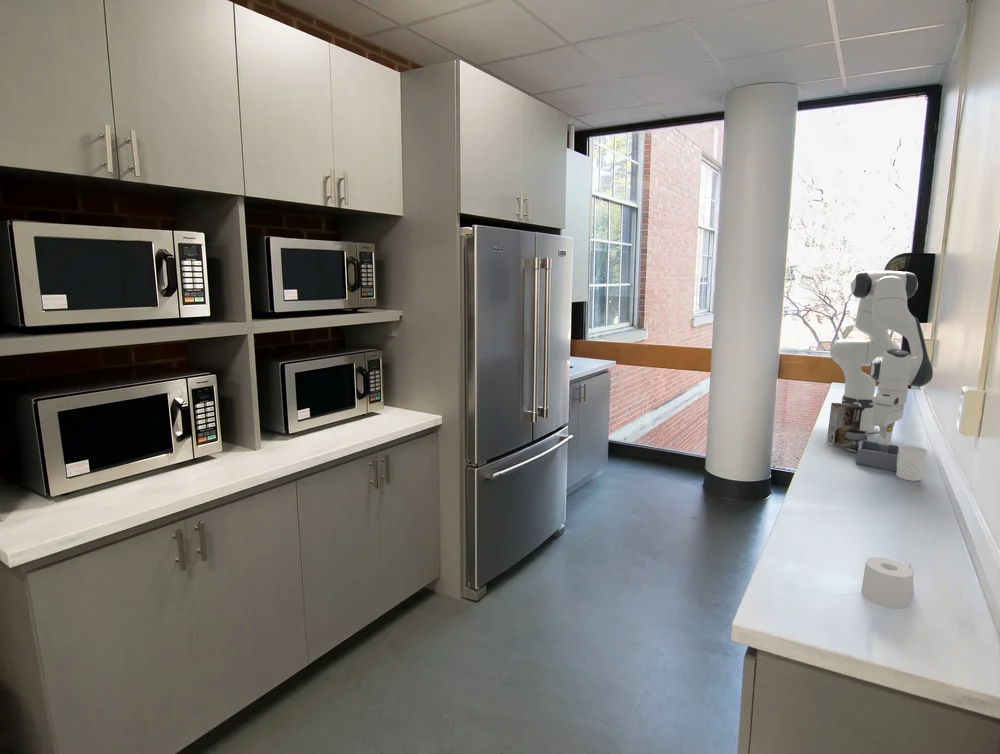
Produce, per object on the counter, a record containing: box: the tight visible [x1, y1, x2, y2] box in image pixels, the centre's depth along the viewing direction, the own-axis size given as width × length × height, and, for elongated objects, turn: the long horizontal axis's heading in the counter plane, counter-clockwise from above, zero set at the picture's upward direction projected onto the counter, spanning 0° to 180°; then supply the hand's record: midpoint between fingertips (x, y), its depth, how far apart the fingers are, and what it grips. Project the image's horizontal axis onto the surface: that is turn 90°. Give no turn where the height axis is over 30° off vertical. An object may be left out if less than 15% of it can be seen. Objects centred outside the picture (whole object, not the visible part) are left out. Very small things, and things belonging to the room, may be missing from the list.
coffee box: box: [826, 402, 862, 447], centre depth 229 cm, size 9×6×16 cm
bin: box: [855, 440, 899, 472], centre depth 207 cm, size 15×15×6 cm
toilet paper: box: [860, 556, 915, 610], centre depth 121 cm, size 8×11×7 cm
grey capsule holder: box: [845, 428, 869, 454], centre depth 221 cm, size 7×7×8 cm
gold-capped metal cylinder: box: [877, 426, 894, 454], centre depth 207 cm, size 4×4×12 cm
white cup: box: [895, 444, 928, 482], centre depth 193 cm, size 8×8×10 cm
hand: (885, 434), depth 206 cm, fingers open, 4 cm apart
